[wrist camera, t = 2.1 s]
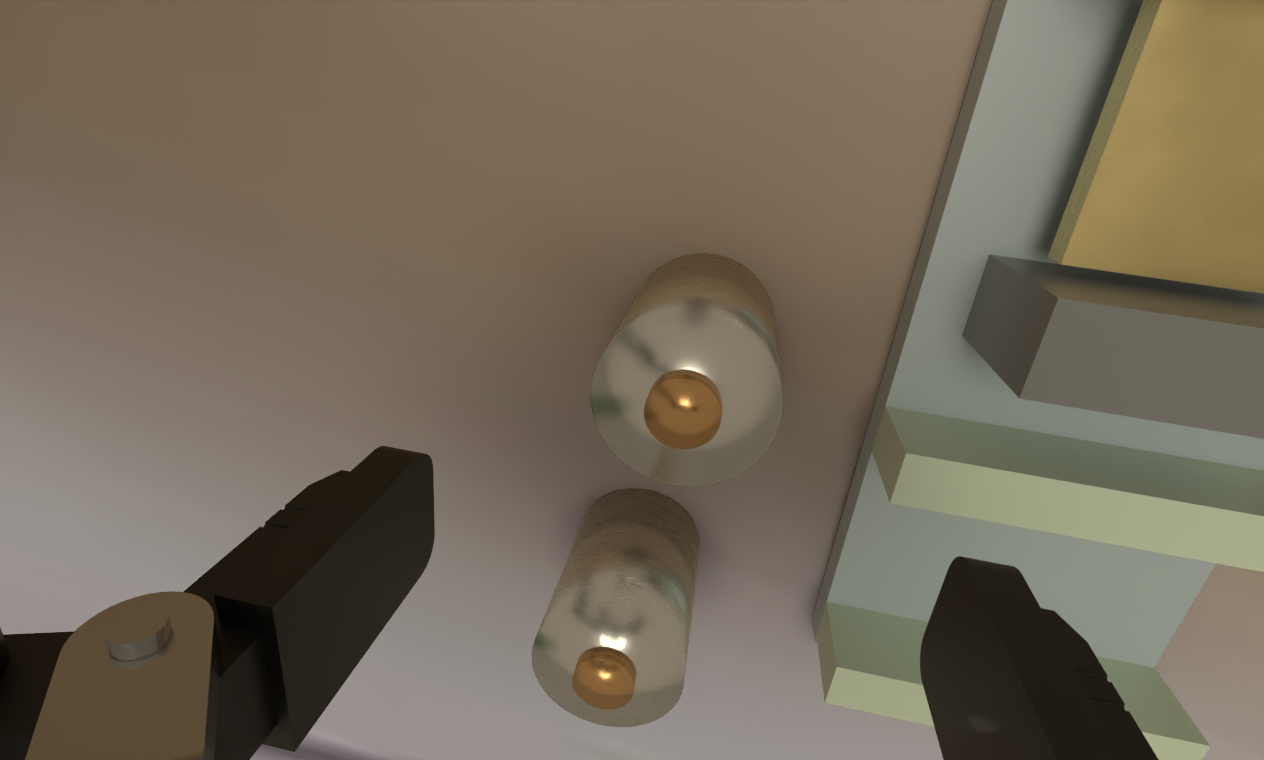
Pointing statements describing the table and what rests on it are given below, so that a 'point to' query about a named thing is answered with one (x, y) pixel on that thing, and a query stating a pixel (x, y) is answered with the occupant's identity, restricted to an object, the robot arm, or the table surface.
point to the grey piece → (1046, 404)
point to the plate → (1178, 152)
